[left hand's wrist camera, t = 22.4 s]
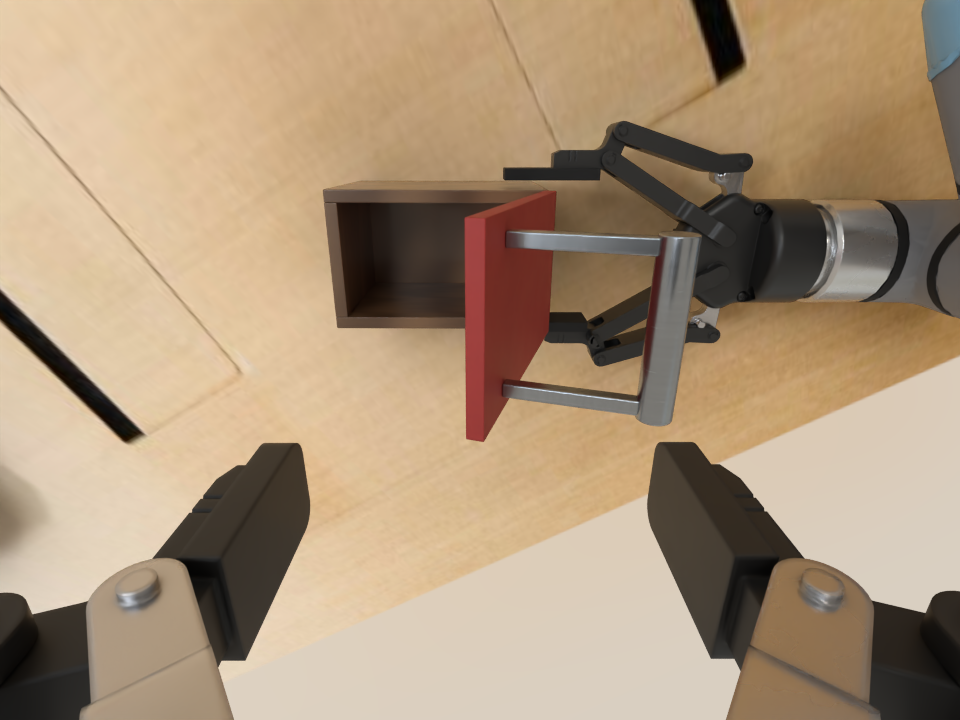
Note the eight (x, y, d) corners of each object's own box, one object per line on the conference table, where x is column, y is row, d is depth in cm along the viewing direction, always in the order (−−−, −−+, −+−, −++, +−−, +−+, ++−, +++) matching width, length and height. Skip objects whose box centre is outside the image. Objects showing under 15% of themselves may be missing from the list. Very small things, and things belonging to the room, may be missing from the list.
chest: (368, 289, 46) (337, 328, 36) (360, 180, 42) (322, 189, 32) (528, 290, 46) (542, 328, 36) (532, 181, 43) (549, 190, 32)
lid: (465, 439, 22) (672, 473, 20) (463, 217, 18) (714, 227, 16) (536, 330, 35) (663, 343, 33) (543, 190, 32) (685, 193, 30)
